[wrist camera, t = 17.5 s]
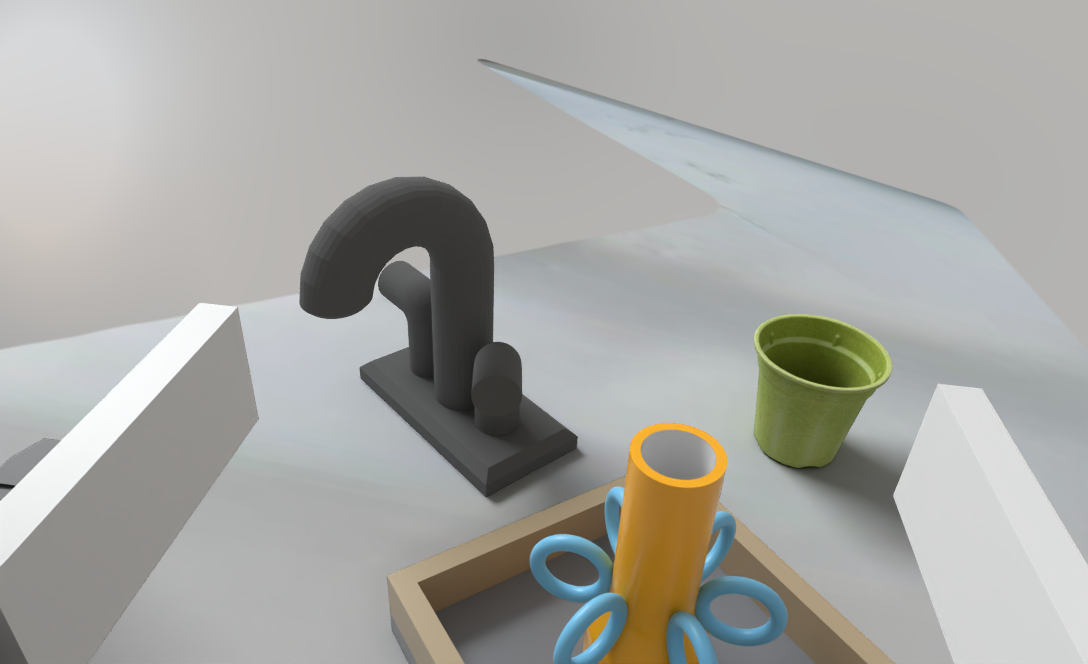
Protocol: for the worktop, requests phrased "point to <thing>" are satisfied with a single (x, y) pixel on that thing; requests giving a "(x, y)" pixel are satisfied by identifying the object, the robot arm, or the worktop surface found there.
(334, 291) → the faucet
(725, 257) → the worktop surface
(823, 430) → the plant pot
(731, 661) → the tan and grey tray
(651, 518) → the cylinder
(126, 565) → the robot arm
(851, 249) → the worktop surface
